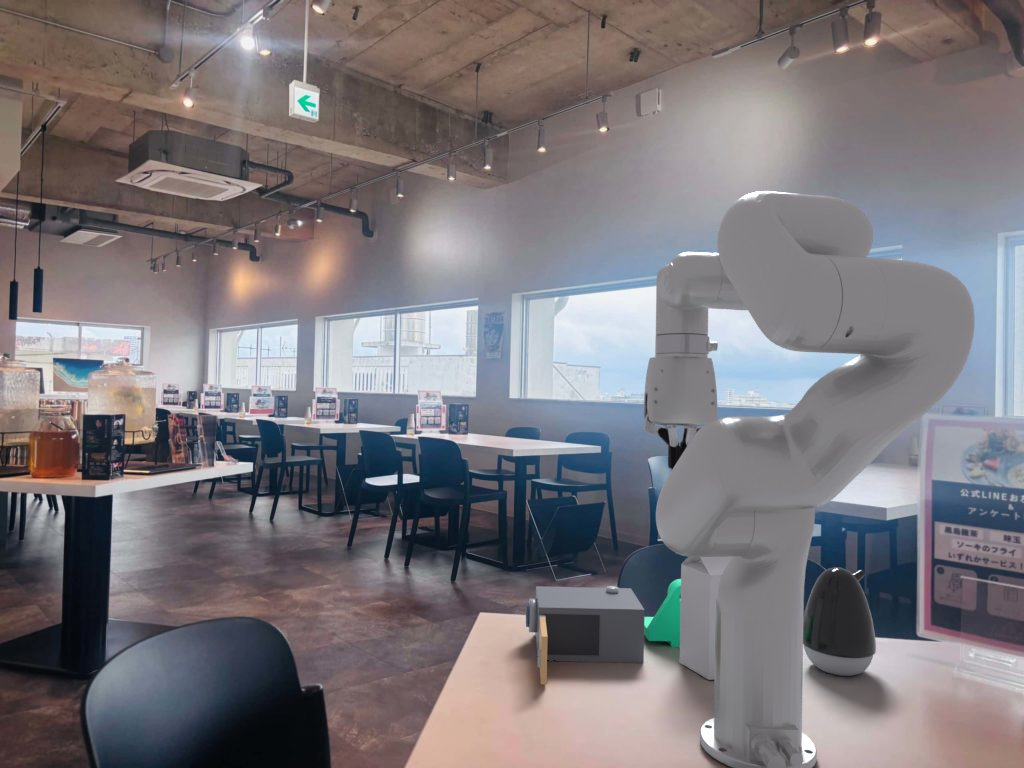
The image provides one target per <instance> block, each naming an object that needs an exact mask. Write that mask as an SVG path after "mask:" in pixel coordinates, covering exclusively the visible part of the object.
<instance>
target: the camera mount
mask: <svg viewBox="0 0 1024 768" xmlns="http://www.w3.org/2000/svg"><path fill="white" fill-rule="evenodd" d="M680 608H681V578H677V579H674V580H673V581H672V582H671V583H669V585H668V588H667V595H666V597H665V599H664V600H663V602H662V604H661V605H660V606H659V608H658V610H657V611H656V613H655V615H654V616H644V637H645V638H646V639H647V640H648V641H649V642H667V644H668V645H669V646H670V648H671V647H672V648H680Z"/></svg>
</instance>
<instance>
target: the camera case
mask: <svg viewBox="0 0 1024 768" xmlns="http://www.w3.org/2000/svg"><path fill="white" fill-rule="evenodd" d="M528 599H529V600H528V603H525V627H526V628H528V633H534V636H535V637H536V638H535V637H534V638H535V646H536V655H537V656H538V647H539V615H545V616H546V627H547V636H548V642H547V660H549V661H548V662H554V661H553V660H556V661H555V662H583V663H585V662H586V663H589V662H590V663H591V662H592V663H631V664H632V663H633V664H635V663H637V664H638V663H640V664H644V663H645V662H644V661H645V658H644V656H645V652H644V650H645V635H644V617H645V608H644V607H643V605H642V603H641V602H640V600H639V599H638V597H637V595H636V594H635V593H634V591H633V590H632V588H627V587H626V588H625V587H619V586H614V585H608V586H606V587H592V586H591V587H590V586H589V587H586V586H584V587H580V586H578V587H577V586H575V587H574V586H542V585H541V586H537V585H536V586H535V598H528Z"/></svg>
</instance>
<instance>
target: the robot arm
mask: <svg viewBox="0 0 1024 768" xmlns="http://www.w3.org/2000/svg"><path fill="white" fill-rule="evenodd" d="M716 241H717V242H716V243H717V252H697V251H696V252H695V251H686V252H682V253H678V254H676V255H675V256H673V258H672V259H671V260H670V262H669V263H668V264H665V265H664V266H661V267H660V268H659V270H658V271H657V274H656V283H655V284H656V288H655V289H656V292H655V293H656V294H655V296H656V297H655V301H656V302H655V349H654V351H655V356H653V357H649V360H648V364H647V369H646V373H645V374H646V377H645V382H644V383H645V384H644V392H643V394H644V395H643V407H642V408H643V413H642V414H643V419H644V422H643V427H642V430H643V431H644V432H645V433H649V434H653V435H657V436H659V438H661V440H663V442H664V443H665V444H666V445H667V449H668V450H667V451H668V453H667V461H668V462H667V466H668V469H671V471H670V473H669V474H668V476H667V478H666V479H665V481H664V483H663V485H662V487H661V489H660V492H659V495H658V498H657V500H656V509H655V523H656V524H655V525H656V529H657V530H656V531H657V532H658V534H659V538H660V540H661V541H662V543H664V545H665V546H666V547H667V548H668V549H669V550H670V551H672V552H673V553H675V554H677V555H680V556H683V557H728V556H732V558H731V560H730V561H729V563H728V565H727V566H726V568H725V570H724V571H723V573H722V575H721V578H720V580H719V583H718V587H717V592H716V620H715V679H714V693H713V694H714V695H713V696H714V697H713V699H714V700H713V703H714V705H713V707H714V708H713V717H712V718H710V719H708V720H706V721H705V722H704V723H703V724H702V725H701V726H700V731H699V742H700V745H701V746H702V748H703V750H704V751H705V752H707V754H708V755H710V756H711V757H712V758H713V759H715V760H717V762H720V763H721V764H724V765H725V766H728V767H730V768H813V767H815V765H816V763H817V756H818V754H817V753H818V752H817V751H818V750H817V748H816V745H815V743H814V742H813V741H812V740H811V739H810V738H809V736H807V734H805V733H804V732H803V678H804V677H803V671H804V670H803V669H804V668H803V667H804V665H803V664H804V658H803V657H804V644H803V618H804V613H805V609H804V608H805V606H804V605H805V604H804V603H805V583H806V581H805V579H806V570H807V562H808V558H809V551H810V548H811V543H812V540H813V539H812V538H813V534H814V530H815V529H814V528H815V517H816V511H815V508H818V507H822V506H824V505H826V504H828V503H829V502H831V501H833V499H835V498H836V497H837V496H838V495H839V494H840V493H842V491H843V490H844V489H846V487H848V485H850V484H851V482H853V481H854V480H855V479H856V478H857V477H858V476H859V475H860V474H861V473H862V472H863V471H864V470H865V469H866V468H867V467H868V466H869V465H870V464H871V463H872V462H873V461H874V460H875V459H876V458H877V457H878V456H879V455H880V454H881V453H882V452H883V451H884V449H885V448H887V446H888V445H889V444H891V443H892V442H893V441H894V440H895V439H896V438H898V437H899V436H900V435H901V434H902V433H903V432H905V430H907V429H908V428H909V427H911V426H912V425H913V424H915V423H916V422H917V421H918V420H920V418H922V417H923V416H924V415H925V414H926V413H928V412H929V411H930V410H932V409H933V408H934V406H935V405H937V404H938V402H940V400H942V398H944V396H946V394H947V393H948V392H949V391H950V389H952V386H954V384H955V382H956V381H957V380H958V378H959V376H960V375H961V374H962V371H963V369H964V367H965V365H966V362H968V357H969V355H970V352H971V349H972V345H973V341H974V335H975V334H974V333H975V309H974V303H973V300H972V296H971V295H970V292H969V291H968V289H967V287H966V286H965V284H963V282H962V281H961V280H960V279H959V278H958V277H956V276H955V275H953V274H952V273H950V272H949V271H948V270H944V269H943V268H939V267H938V266H935V265H932V264H926V263H924V262H918V261H914V260H907V259H899V258H887V257H886V258H883V257H867V256H868V255H869V254H870V252H871V249H872V245H873V241H874V231H873V226H872V223H871V221H870V219H869V217H868V215H867V214H866V213H865V212H864V210H863V209H861V208H860V207H859V206H857V205H856V204H854V203H853V202H851V201H848V200H846V199H843V198H839V197H835V196H830V195H829V196H828V195H820V194H819V195H816V194H805V193H804V194H803V193H791V192H781V191H769V190H767V191H766V190H764V191H755V192H751V193H748V194H745V195H743V196H742V197H740V198H738V199H737V200H736V201H735V202H733V203H732V204H731V206H730V207H729V208H728V209H727V210H726V212H725V214H724V216H723V218H722V220H721V222H720V225H719V229H718V232H717V240H716ZM709 309H715V310H716V309H717V310H730V311H731V310H734V311H748V313H749V314H750V316H751V317H752V319H753V321H754V323H755V324H756V325H757V327H758V329H759V330H760V331H761V332H762V334H763V335H764V336H765V337H766V338H767V339H768V340H769V341H770V342H772V344H774V345H776V346H778V347H780V348H782V349H785V350H788V351H791V352H792V351H794V352H802V353H820V354H822V353H823V354H824V353H826V354H849V355H850V354H851V355H857V356H856V357H854V358H852V359H851V360H849V361H847V362H845V363H844V364H842V365H840V366H838V367H835V368H834V369H833V370H831V371H829V372H827V373H826V374H825V375H823V376H822V377H820V378H819V379H818V380H817V381H816V382H814V383H813V384H812V385H811V386H810V387H809V388H808V390H807V391H806V392H805V393H804V394H803V397H802V398H801V399H800V400H799V401H798V403H796V404H795V406H794V407H792V409H791V410H790V411H788V412H787V413H784V414H781V415H772V416H745V415H744V416H743V415H742V416H740V415H739V416H738V415H737V416H724V417H719V418H718V394H717V393H718V392H717V380H716V372H715V367H714V362H713V358H711V357H708V356H709V355H710V352H714V351H715V352H716V351H718V345H719V343H718V341H713V340H711V339H710V336H709ZM658 425H660V426H663V427H660V426H658ZM677 426H683V431H682V436H681V441H680V442H679V440H678V432H677ZM698 426H699V427H698Z"/></svg>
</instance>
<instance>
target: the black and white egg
mask: <svg viewBox="0 0 1024 768" xmlns="http://www.w3.org/2000/svg"><path fill="white" fill-rule="evenodd" d="M864 576H865V571H863V570H862V569H858V570H857V571H855V572H854V573H853V572H851V571H849V570H847V569H846V568H843V567H836V566H835V567H831V568H827V569H826V570H824V571H823V572H822V573H820V575H819V576H818V577H817V579H816V580H815V583H814V585H813V587H812V589H811V592H810V594H809V597H808V600H807V603H806V606H805V609H804V618H803V650H804V652H805V654H806V656H807V659H808V660H809V661H810V663H812V664H813V665H814V666H815V667H816V668H818V669H820V671H823V672H825V673H827V674H830V675H835V676H840V677H852V676H856V675H860V674H861V673H863V672H865V671H866V670H867V669H868V668H869V666H870V665H871V664H872V661H873V658H874V655H875V654H876V653H877V643H876V642H877V640H876V634H875V628H874V622H873V617H872V613H871V610H870V609H871V608H870V606H869V602H868V600H867V597H866V595H865V592H864V589H863V588H862V585H861V583H860V581H861V579H863V578H864Z"/></svg>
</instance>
